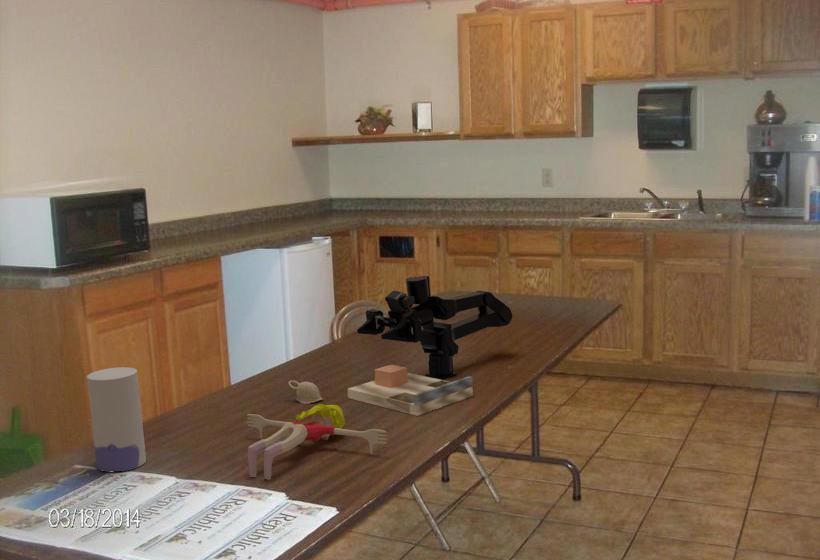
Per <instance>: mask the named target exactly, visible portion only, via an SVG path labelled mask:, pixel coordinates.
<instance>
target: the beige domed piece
mask: <svg viewBox="0 0 820 560" xmlns="http://www.w3.org/2000/svg"><path fill="white" fill-rule="evenodd" d="M292 383H294V384H296V385H297V386H294V385H292ZM288 386H289V387H290V388H292V389H293V390H295V391H296V401H297V402H298V403H301V404H305V405H306V404H307V405H308V404H312V403H315V402H319V401H323V400H324V398H322V397H321V392H320V389H319V388H318V387H317V385H316V384H315V383H313V382H311V381H310V382H309V381H302V382H298V381H297V380H289V381H288Z"/></svg>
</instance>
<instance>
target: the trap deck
mask: <svg viewBox="0 0 820 560" xmlns="http://www.w3.org/2000/svg"><path fill="white" fill-rule="evenodd" d="M473 389H474V387H473V376H466V377H463V378H460V379H457V380H454V381H449V380H443V379H440V378H435V377H430V376H426V375H420V374H416V373H410V372H408V383H406V384H403V385H399V386H396V387H393V388H389V387H385V386H380V385H376V384H375V379H374V380H371V381H369V382H368V381H367V382H365V383H362V384H358V385H354V386H351V387H349V388H347V399H351V400H354V401H358V402H362V403H365V404H369V405H374V406H378V407H382V408H385V409H389V410H393V411H397V412H400V413H406V414H409V415H412V416H417V417H419V416H421V415H424V414H428V413H429V412H433V411H436V410H438V409H441V408H444V407H446V406H449V405H452V404H454V403H457V402H460V401H464V400H466V399H468V398H472V397H473V395H474V392H473ZM443 406H444V407H443ZM435 409H436V410H435ZM432 410H433V411H432Z"/></svg>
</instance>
